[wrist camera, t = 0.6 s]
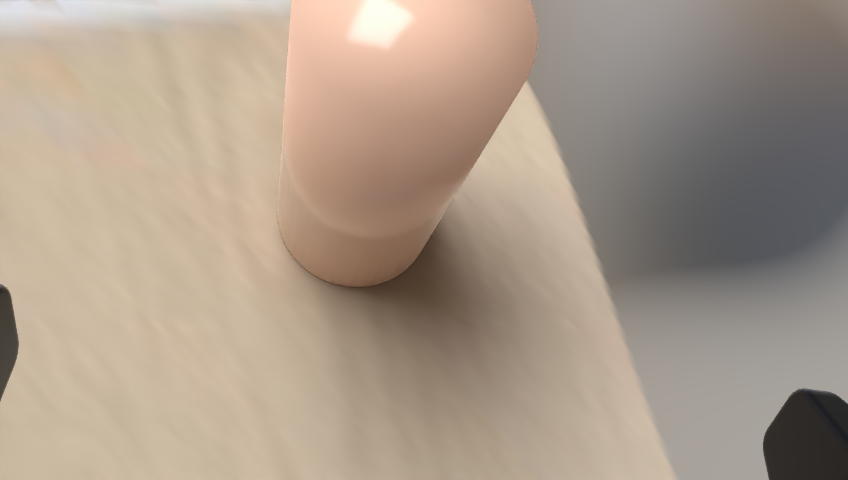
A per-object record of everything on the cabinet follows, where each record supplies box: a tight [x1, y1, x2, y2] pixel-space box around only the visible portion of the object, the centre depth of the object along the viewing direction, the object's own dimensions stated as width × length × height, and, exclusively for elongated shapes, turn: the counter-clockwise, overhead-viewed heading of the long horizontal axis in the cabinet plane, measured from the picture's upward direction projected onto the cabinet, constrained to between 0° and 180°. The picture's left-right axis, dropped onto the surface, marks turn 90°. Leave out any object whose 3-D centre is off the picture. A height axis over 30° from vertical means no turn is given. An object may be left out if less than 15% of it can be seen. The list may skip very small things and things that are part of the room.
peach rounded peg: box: [277, 0, 538, 287], centre depth 21 cm, size 5×5×11 cm
